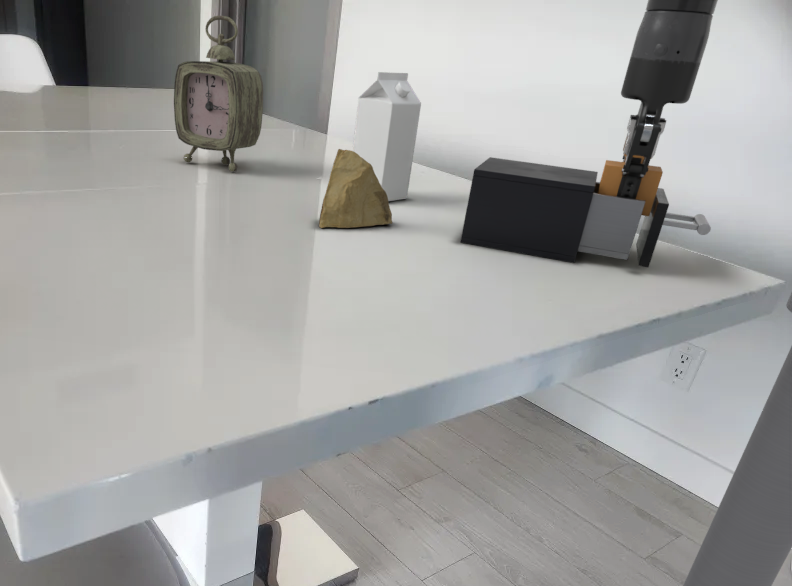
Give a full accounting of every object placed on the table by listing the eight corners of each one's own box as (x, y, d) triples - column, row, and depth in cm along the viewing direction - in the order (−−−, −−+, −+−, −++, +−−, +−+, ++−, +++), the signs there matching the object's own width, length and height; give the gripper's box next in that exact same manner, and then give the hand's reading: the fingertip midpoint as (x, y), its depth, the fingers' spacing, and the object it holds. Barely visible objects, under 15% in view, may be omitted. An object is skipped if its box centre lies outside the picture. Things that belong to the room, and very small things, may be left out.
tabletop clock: (173, 162, 126) (173, 11, 115) (205, 157, 133) (207, 15, 122) (234, 175, 120) (240, 16, 108) (264, 169, 126) (272, 20, 115)
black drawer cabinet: (579, 240, 96) (597, 171, 92) (574, 263, 86) (595, 186, 81) (476, 223, 101) (489, 157, 96) (460, 242, 90) (474, 169, 86)
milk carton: (347, 194, 112) (361, 70, 104) (375, 190, 117) (390, 71, 108) (379, 203, 108) (396, 74, 99) (407, 199, 112) (426, 75, 104)
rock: (398, 202, 99) (333, 185, 100) (409, 161, 91) (338, 142, 92) (380, 261, 94) (312, 242, 95) (391, 222, 86) (316, 202, 87)
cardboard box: (647, 209, 88) (660, 166, 85) (649, 216, 84) (663, 171, 81) (594, 201, 90) (606, 159, 87) (593, 208, 86) (605, 164, 83)
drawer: (689, 253, 91) (710, 195, 87) (698, 276, 81) (721, 211, 78) (543, 229, 97) (557, 173, 93) (535, 247, 87) (550, 186, 84)
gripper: (708, 60, 71) (657, 219, 79) (695, 59, 83) (652, 198, 91) (632, 54, 74) (590, 209, 82) (630, 54, 86) (593, 190, 94)
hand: (623, 202), depth 86 cm, fingers closed on cardboard box, 4 cm apart
